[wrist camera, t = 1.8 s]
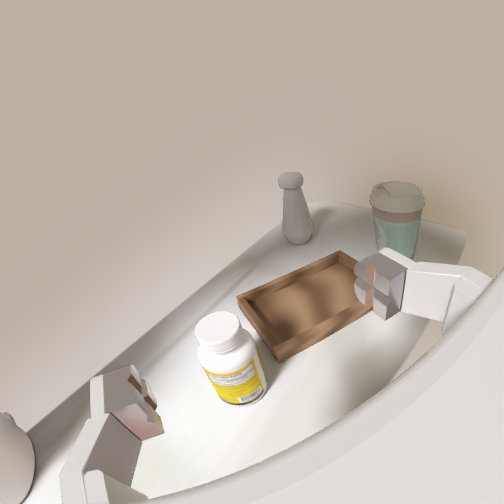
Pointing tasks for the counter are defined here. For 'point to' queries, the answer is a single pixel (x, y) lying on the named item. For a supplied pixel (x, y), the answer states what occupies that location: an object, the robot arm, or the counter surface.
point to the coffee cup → (397, 215)
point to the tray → (304, 305)
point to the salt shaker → (295, 209)
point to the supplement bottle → (230, 359)
